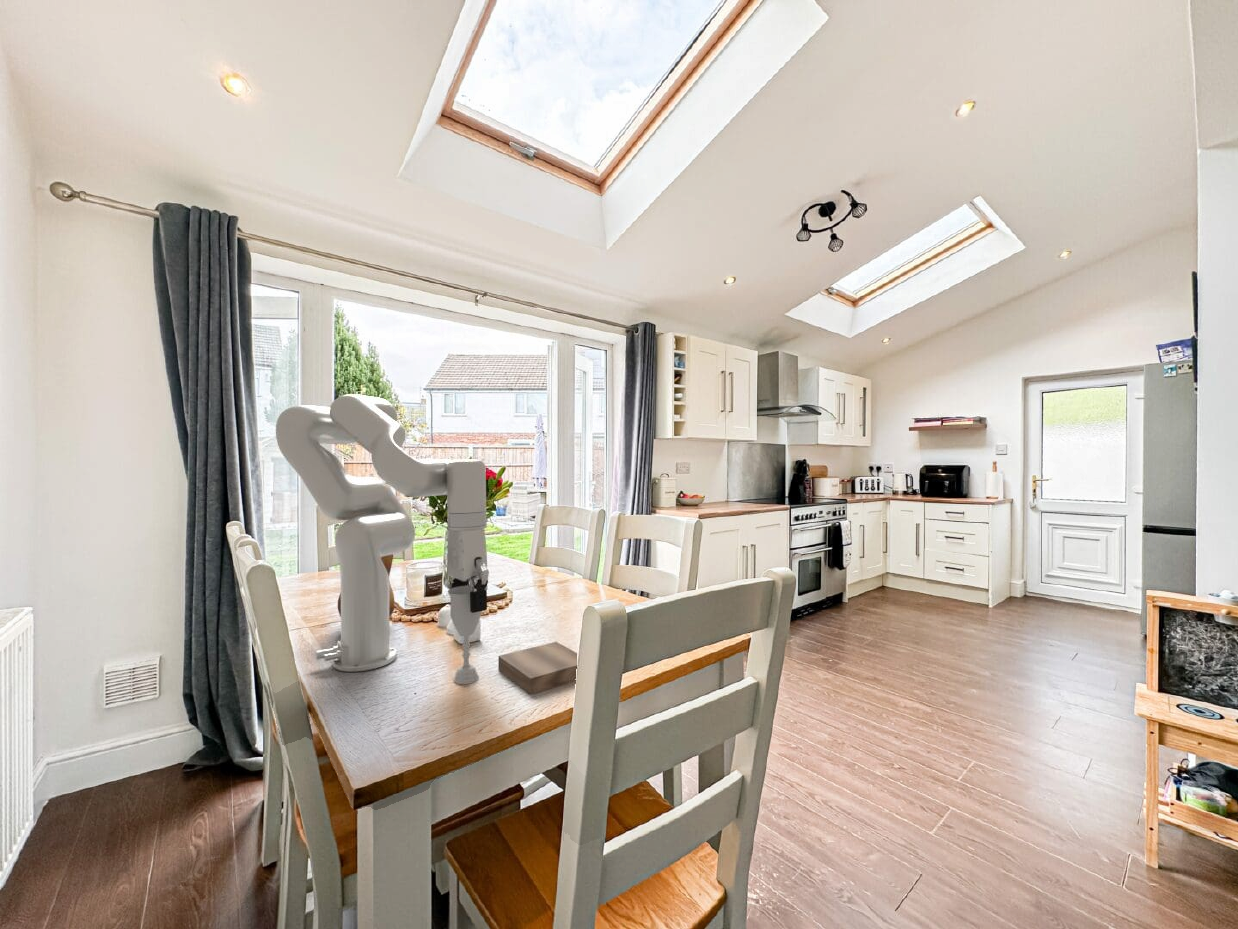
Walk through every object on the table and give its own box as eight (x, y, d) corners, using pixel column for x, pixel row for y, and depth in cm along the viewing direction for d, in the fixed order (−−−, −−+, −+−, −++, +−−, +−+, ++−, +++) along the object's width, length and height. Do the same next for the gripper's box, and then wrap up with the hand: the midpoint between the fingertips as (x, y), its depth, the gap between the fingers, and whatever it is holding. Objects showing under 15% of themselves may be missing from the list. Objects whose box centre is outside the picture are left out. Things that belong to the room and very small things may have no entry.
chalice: (463, 689, 100) (463, 596, 100) (439, 681, 104) (440, 591, 103) (491, 676, 106) (491, 588, 106) (468, 668, 110) (468, 583, 110)
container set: (481, 641, 127) (481, 619, 127) (459, 646, 124) (459, 623, 124) (454, 620, 143) (454, 600, 143) (434, 624, 140) (434, 603, 140)
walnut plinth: (530, 694, 98) (530, 678, 98) (498, 670, 109) (498, 655, 109) (591, 675, 107) (591, 661, 107) (556, 654, 118) (556, 641, 118)
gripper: (434, 519, 109) (435, 600, 109) (465, 526, 95) (467, 619, 95) (468, 516, 114) (470, 594, 114) (503, 522, 100) (505, 611, 100)
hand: (468, 606), depth 104 cm, fingers open, 9 cm apart
